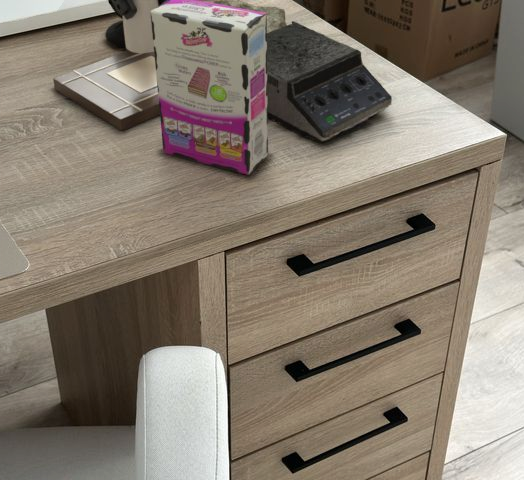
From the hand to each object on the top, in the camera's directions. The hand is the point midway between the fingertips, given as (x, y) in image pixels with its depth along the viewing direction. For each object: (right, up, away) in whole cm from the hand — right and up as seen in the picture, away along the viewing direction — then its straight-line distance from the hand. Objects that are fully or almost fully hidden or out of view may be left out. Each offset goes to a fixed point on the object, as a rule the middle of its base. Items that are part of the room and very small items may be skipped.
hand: (149, 8), depth 110 cm
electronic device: (+18, -10, +4) cm, 21 cm away
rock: (+10, +1, +17) cm, 19 cm away
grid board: (-1, -7, +8) cm, 11 cm away
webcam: (-4, +2, +18) cm, 19 cm away
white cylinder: (-1, -3, +4) cm, 5 cm away
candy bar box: (+8, -18, -4) cm, 20 cm away
